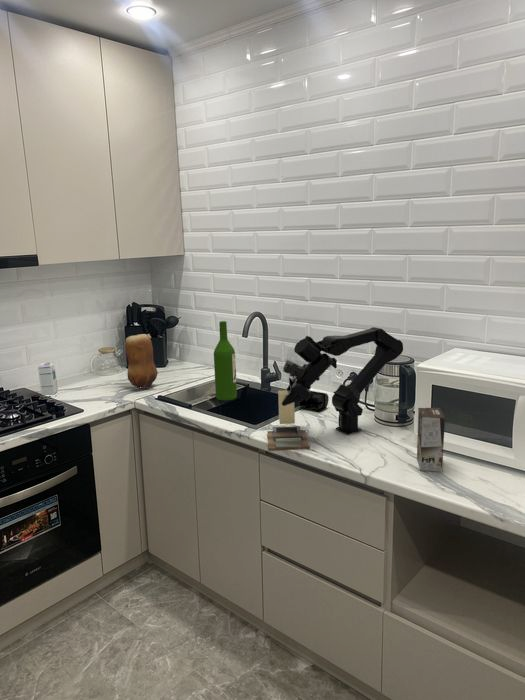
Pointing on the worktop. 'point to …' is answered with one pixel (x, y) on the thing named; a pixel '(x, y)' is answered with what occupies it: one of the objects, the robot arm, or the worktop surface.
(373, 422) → the worktop surface
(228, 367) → the wine bottle
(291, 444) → the shunted jig
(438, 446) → the coffee box
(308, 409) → the end cap
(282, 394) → the tan wooden block
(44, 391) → the syrup box
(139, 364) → the butternut squash
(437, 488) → the worktop surface
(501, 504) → the worktop surface
